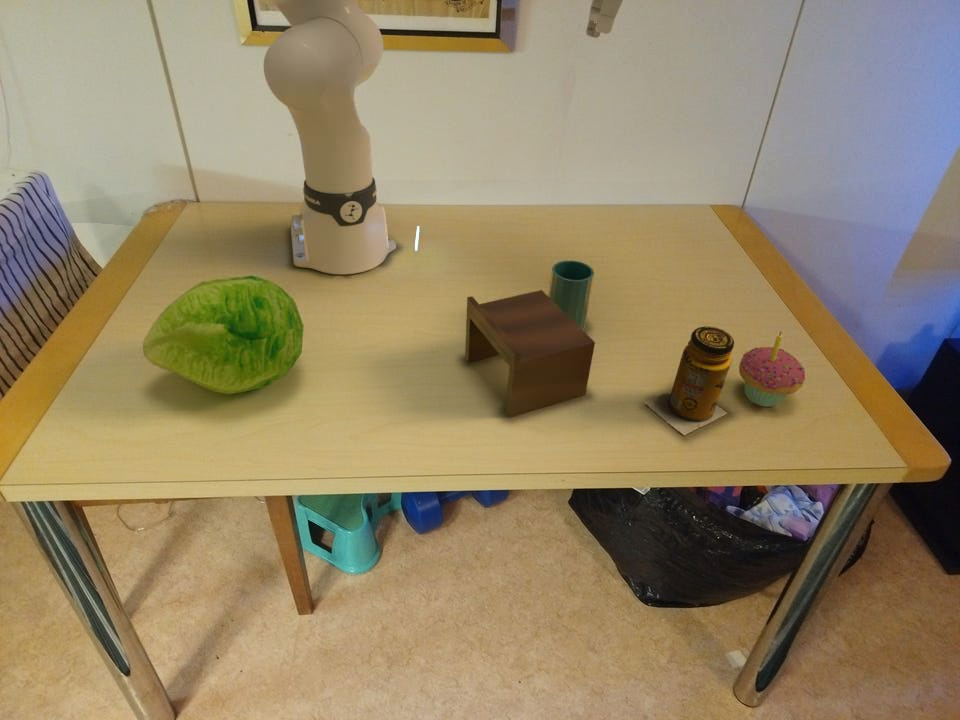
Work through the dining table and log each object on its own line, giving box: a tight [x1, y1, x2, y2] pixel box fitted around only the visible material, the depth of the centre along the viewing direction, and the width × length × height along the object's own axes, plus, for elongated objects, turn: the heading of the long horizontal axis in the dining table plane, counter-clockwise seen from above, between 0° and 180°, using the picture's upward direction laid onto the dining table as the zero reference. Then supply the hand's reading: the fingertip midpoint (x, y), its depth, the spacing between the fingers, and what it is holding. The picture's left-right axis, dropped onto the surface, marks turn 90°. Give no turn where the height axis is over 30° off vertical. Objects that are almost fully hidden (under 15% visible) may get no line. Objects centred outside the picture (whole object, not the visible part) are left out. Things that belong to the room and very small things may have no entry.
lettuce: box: [142, 275, 304, 395], centre depth 86 cm, size 17×20×15 cm
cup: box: [548, 259, 595, 332], centre depth 101 cm, size 6×6×10 cm
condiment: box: [644, 325, 735, 436], centre depth 86 cm, size 7×8×12 cm
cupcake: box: [738, 330, 806, 408], centre depth 89 cm, size 9×8×12 cm
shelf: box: [464, 289, 596, 418], centre depth 91 cm, size 14×12×11 cm
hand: (596, 35), depth 83 cm, fingers open, 8 cm apart
